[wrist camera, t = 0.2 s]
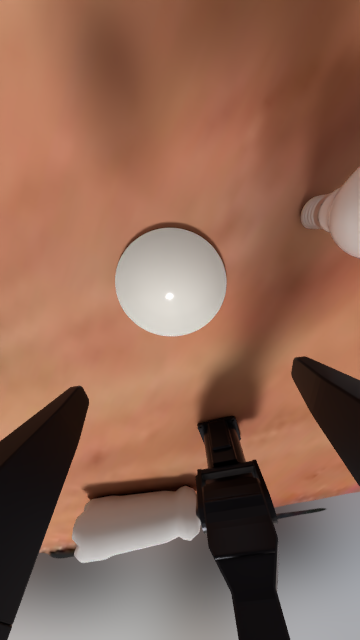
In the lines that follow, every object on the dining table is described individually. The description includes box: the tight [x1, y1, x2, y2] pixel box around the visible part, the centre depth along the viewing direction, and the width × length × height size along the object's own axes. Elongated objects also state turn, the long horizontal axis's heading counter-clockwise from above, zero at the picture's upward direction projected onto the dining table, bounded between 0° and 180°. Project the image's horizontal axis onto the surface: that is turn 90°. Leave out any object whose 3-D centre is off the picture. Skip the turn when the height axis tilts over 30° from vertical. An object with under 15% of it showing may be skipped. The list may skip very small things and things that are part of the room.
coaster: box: [115, 228, 226, 336], centre depth 20 cm, size 12×12×1 cm
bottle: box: [72, 486, 201, 563], centre depth 38 cm, size 9×9×30 cm
